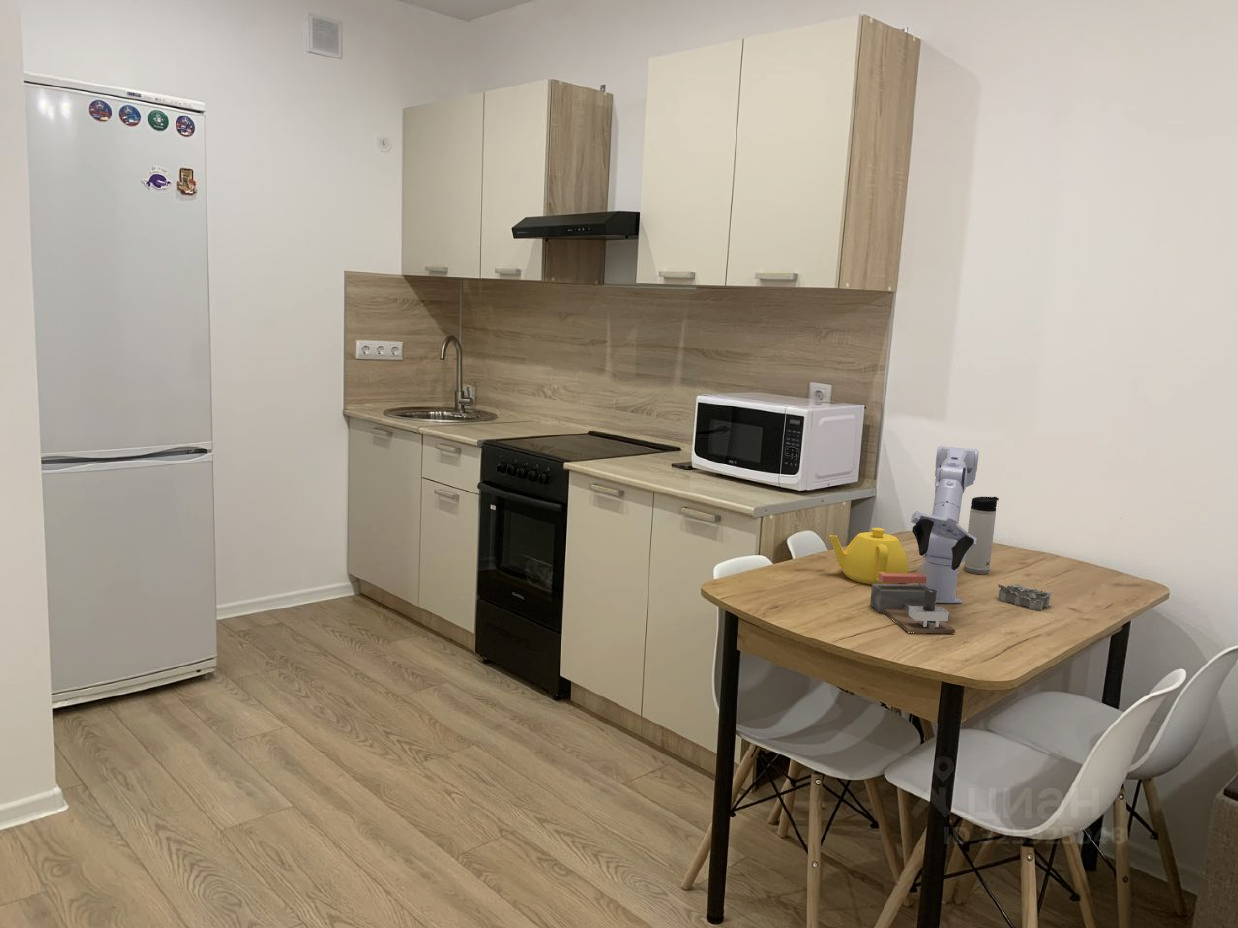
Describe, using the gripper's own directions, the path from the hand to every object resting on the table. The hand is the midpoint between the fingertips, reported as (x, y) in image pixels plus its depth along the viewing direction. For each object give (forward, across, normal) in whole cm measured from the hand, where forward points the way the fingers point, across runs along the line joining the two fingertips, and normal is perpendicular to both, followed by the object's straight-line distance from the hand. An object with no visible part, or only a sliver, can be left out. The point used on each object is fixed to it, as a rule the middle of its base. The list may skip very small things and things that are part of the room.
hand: (939, 560), depth 201 cm
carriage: (+13, +2, +5) cm, 14 cm away
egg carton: (-11, +30, +16) cm, 36 cm away
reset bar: (0, -2, +12) cm, 12 cm away
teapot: (-12, -1, +34) cm, 36 cm away
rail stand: (+9, +1, +11) cm, 14 cm away
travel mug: (-29, +28, +36) cm, 54 cm away
